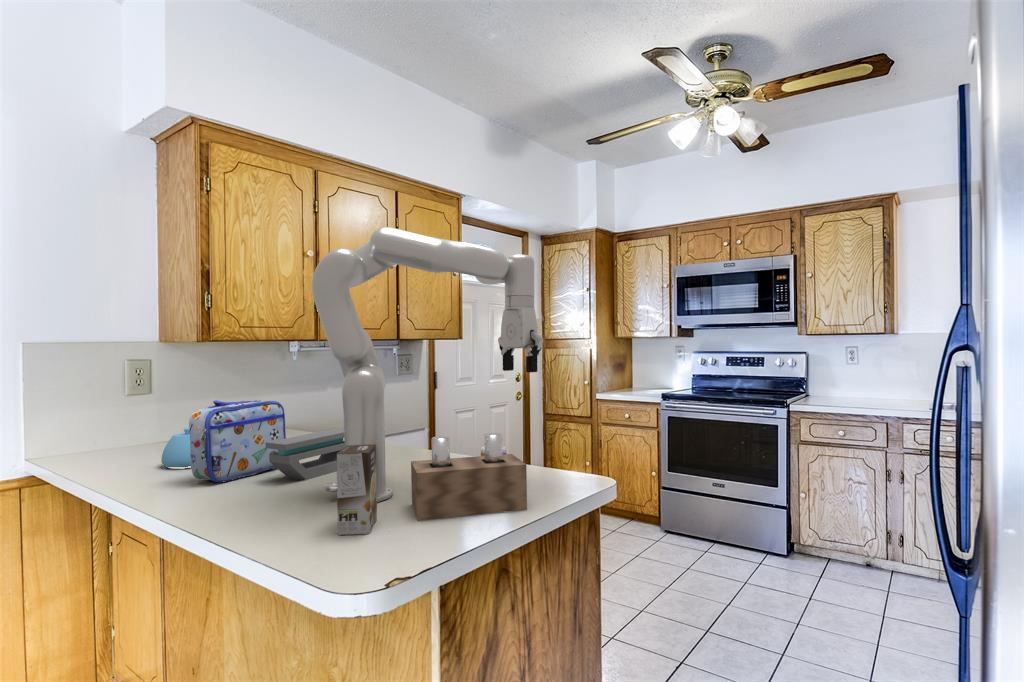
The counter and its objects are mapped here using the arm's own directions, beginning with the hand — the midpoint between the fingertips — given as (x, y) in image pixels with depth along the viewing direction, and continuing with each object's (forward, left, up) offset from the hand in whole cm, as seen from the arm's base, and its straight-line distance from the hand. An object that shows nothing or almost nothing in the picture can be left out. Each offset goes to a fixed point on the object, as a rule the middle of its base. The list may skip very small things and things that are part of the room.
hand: (519, 371), depth 143 cm
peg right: (-10, -12, -23) cm, 28 cm away
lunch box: (-72, +39, -30) cm, 87 cm away
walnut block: (-16, -12, -30) cm, 36 cm away
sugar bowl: (-90, +60, -30) cm, 112 cm away
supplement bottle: (-6, +4, -30) cm, 31 cm away
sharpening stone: (-52, +34, -30) cm, 69 cm away
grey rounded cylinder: (-22, -12, -22) cm, 34 cm away
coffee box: (-40, -18, -30) cm, 53 cm away
